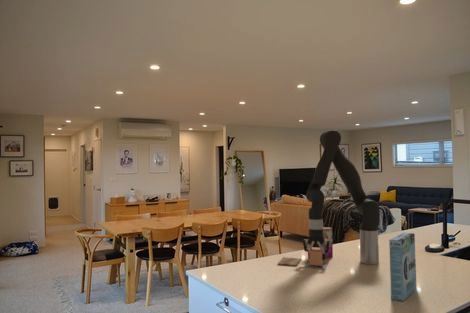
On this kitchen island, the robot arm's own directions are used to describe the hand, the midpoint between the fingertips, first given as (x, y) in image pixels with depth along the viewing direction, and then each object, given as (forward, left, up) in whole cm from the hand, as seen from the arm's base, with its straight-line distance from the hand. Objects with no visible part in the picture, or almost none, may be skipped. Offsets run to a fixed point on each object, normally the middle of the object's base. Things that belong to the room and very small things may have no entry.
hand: (316, 259), depth 189 cm
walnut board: (+14, 0, -3) cm, 14 cm away
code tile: (0, 0, -3) cm, 3 cm away
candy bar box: (-1, -18, -3) cm, 18 cm away
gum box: (-39, +31, -3) cm, 50 cm away
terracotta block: (0, 0, -2) cm, 2 cm away
